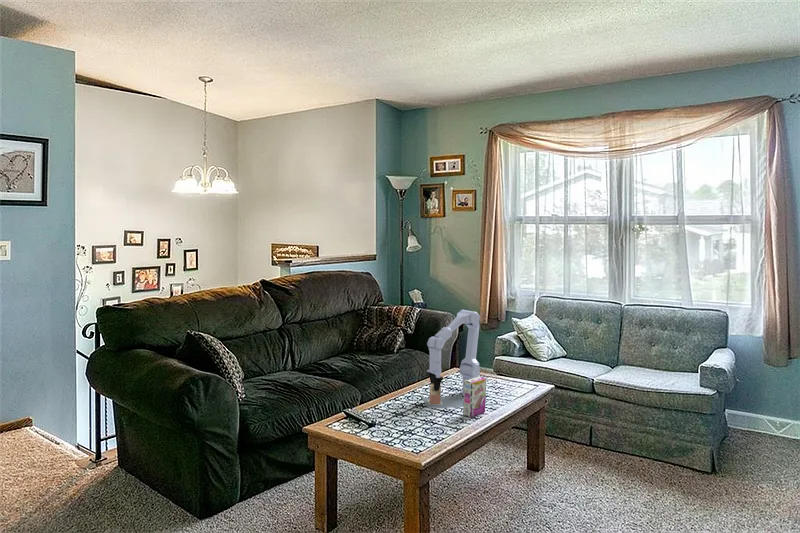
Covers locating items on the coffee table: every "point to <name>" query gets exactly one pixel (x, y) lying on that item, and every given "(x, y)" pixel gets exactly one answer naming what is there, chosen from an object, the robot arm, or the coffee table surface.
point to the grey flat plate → (445, 402)
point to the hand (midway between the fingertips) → (435, 388)
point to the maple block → (434, 390)
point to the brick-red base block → (434, 399)
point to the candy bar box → (474, 396)
